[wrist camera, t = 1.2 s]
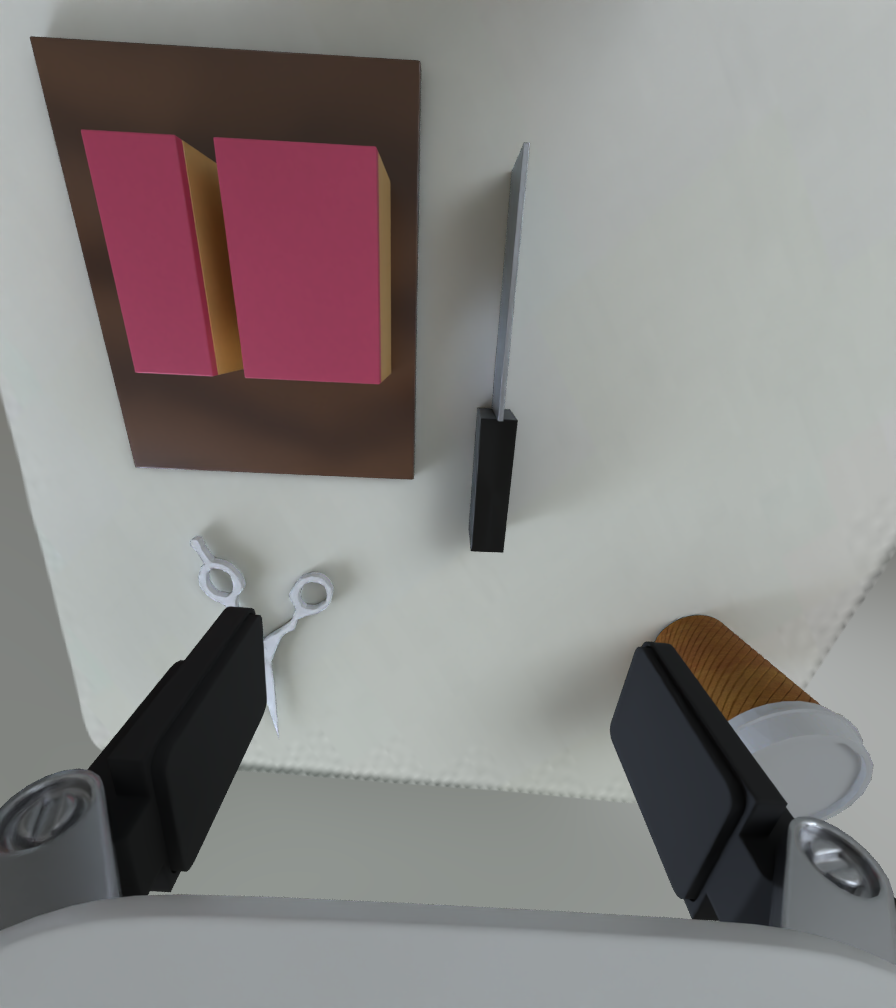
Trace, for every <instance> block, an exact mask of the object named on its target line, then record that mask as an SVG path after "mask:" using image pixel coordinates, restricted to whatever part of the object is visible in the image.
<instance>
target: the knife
mask: <svg viewBox="0 0 896 1008" xmlns="http://www.w3.org/2000/svg"><path fill="white" fill-rule="evenodd" d="M529 148H530V143H529V142H524V143H523V146H522V148H521V150H520V153H519V155H518V157H517V160H516V162H515V164H514V167H513V169H512V175H511V187H510V199H509V210H508V222H507V234H506V245H505V257H504V269H503V281H502V292H501V304H500V316H499V327H498V339H497V351H496V363H495V374H494V386H493V398H492V409H491V408H477V420H476V433H475V447H474V461H473V475H472V489H471V502H470V516H469V538H470V548H471V551H477V552H503V550H504V541H505V532H506V522H507V513H508V504H509V495H510V486H511V477H512V468H513V459H514V450H515V441H516V431H517V422H518V420H517V419H516V417H515V416H514V414H513V413H512V412H511V410H510V409H504V407H505V396H506V386H507V376H508V365H509V355H510V345H511V334H512V324H513V314H514V303H515V293H516V283H517V272H518V262H519V252H520V241H521V231H522V221H523V210H524V200H525V190H526V179H527V169H528V159H529Z"/></svg>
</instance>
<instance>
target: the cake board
mask: <svg viewBox="0 0 896 1008" xmlns="http://www.w3.org/2000/svg"><path fill="white" fill-rule="evenodd" d="M30 40H31V44H32V48H33V52H34V56H35V60H36V65H37V69H38V73H39V77H40V81H41V85H42V89H43V93H44V97H45V101H46V105H47V109H48V113H49V117H50V121H51V126H52V130H53V134H54V138H55V142H56V146H57V150H58V154H59V158H60V162H61V166H62V170H63V174H64V178H65V182H66V187H67V191H68V195H69V199H70V203H71V207H72V211H73V215H74V219H75V223H76V227H77V231H78V235H79V239H80V243H81V248H82V252H83V256H84V260H85V264H86V268H87V272H88V276H89V280H90V284H91V288H92V292H93V296H94V300H95V304H96V309H97V313H98V317H99V321H100V325H101V329H102V333H103V337H104V341H105V345H106V349H107V353H108V357H109V361H110V365H111V370H112V374H113V378H114V382H115V386H116V390H117V394H118V398H119V402H120V406H121V410H122V414H123V418H124V422H125V427H126V431H127V435H128V439H129V443H130V447H131V451H132V455H133V459H134V463H135V467H138V468H161V469H184V470H207V471H230V472H252V473H275V474H298V475H321V476H344V477H367V478H390V479H414V464H415V406H416V348H417V290H418V231H419V173H420V115H421V63H420V61H418V60H402V59H386V58H370V57H354V56H338V55H322V54H306V53H290V52H274V51H257V50H241V49H225V48H209V47H193V46H177V45H161V44H145V43H129V42H113V41H97V40H81V39H64V38H48V37H32V36H31V37H30ZM82 129H85V130H102V131H119V132H136V133H153V134H170V135H175V136H177V137H178V138H180V139H181V140H183V141H184V142H186V143H187V144H189V145H190V146H192V147H193V148H195V149H196V150H198V151H199V152H201V153H202V154H203V155H205V156H206V157H208V158H209V159H211V160H212V161H214V162H215V163H217V162H216V154H215V147H214V139H213V138H214V137H223V138H240V139H257V140H274V141H291V142H309V143H326V144H343V145H360V146H375V147H376V148H377V150H378V152H379V155H380V157H381V160H382V162H383V165H384V167H385V169H386V172H387V174H388V177H389V179H390V197H391V374H390V375H389V376H388V377H387V378H386V379H385V380H383V381H382V382H381V383H380V384H363V383H342V382H321V381H300V380H279V379H258V378H245V375H244V369H242V370H238V371H233V372H229V373H225V374H221V375H216V376H196V375H175V374H154V373H137V372H135V368H134V364H133V360H132V355H131V351H130V346H129V342H128V337H127V333H126V329H125V324H124V320H123V315H122V311H121V306H120V302H119V298H118V293H117V289H116V284H115V280H114V275H113V271H112V267H111V262H110V258H109V253H108V249H107V244H106V240H105V236H104V231H103V227H102V222H101V218H100V213H99V209H98V205H97V200H96V196H95V191H94V187H93V182H92V178H91V174H90V169H89V165H88V160H87V156H86V151H85V147H84V143H83V138H82V134H81V130H82Z"/></svg>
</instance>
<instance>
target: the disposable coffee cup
mask: <svg viewBox="0 0 896 1008" xmlns="http://www.w3.org/2000/svg"><path fill="white" fill-rule="evenodd" d="M655 642H658V643H668V644H671V645H672V646H673V647H674V648H675V650H676V651H677V653H678V654H679V655H680V657H681V658H682V659H683V661H684V662H685V664H686V665H687V666H688V668H689V669H690V670H691V672H692V673H693V674H694V676H695V677H696V679H697V680H698V681H699V683H700V684H701V685H702V687H703V688H704V690H705V691H706V692H707V694H708V695H709V696H710V698H711V699H712V700H713V702H714V703H715V705H716V706H717V707H718V709H719V710H720V711H721V713H722V714H723V716H724V717H725V718H726V720H727V721H728V722H729V724H730V725H731V727H732V728H733V729H734V731H735V732H736V733H737V735H738V736H739V737H740V739H741V740H742V742H743V743H744V744H745V746H746V747H747V748H748V750H749V751H750V753H751V754H752V755H753V757H754V758H755V759H756V761H757V762H758V764H759V765H760V766H761V768H762V769H763V770H764V772H765V773H766V774H767V776H768V777H769V779H770V780H771V781H772V783H773V784H774V785H775V787H776V788H777V790H778V791H779V792H780V794H781V795H782V796H783V798H784V799H785V801H786V802H787V803H788V805H787V806H786V808H787V809H788V810H789V812H790V813H791V815H792V816H793V817H794V819H795V818H797V817H804V816H809V817H813V818H816V819H820V820H823V821H825V820H827V819H829V818H831V817H833V816H835V815H837V814H839V813H840V812H842V811H843V810H845V809H846V808H848V807H849V806H851V805H852V804H853V803H854V802H855V801H856V800H857V799H858V798H859V797H860V796H861V795H862V794H863V793H864V791H865V790H866V788H867V786H868V784H869V783H870V781H871V778H872V772H873V763H872V760H871V757H870V754H869V753H868V752H867V750H866V749H865V747H864V746H863V740H862V738H861V735H860V733H859V731H858V729H857V728H856V727H855V726H854V725H853V724H852V723H851V722H850V721H849V720H848V719H846V718H845V717H843V716H842V715H840V714H838V713H835V712H833V711H831V710H829V709H828V708H826V707H824V706H821V705H820V704H819V703H818V702H817V701H815V700H814V699H813V698H812V697H810V696H809V695H808V694H807V693H806V692H804V691H803V690H802V689H801V688H800V687H799V686H797V685H796V684H795V683H794V682H793V681H791V680H790V679H789V678H787V677H786V676H785V675H784V674H783V673H782V672H780V671H779V670H778V669H777V668H776V667H774V666H773V665H771V663H770V662H769V661H768V660H766V659H764V658H763V657H762V655H760V654H758V653H757V652H756V651H755V650H754V649H752V648H751V647H750V646H749V645H748V644H746V643H745V642H744V641H743V640H742V639H740V638H739V637H738V636H737V635H736V634H734V633H733V632H732V631H731V630H730V629H728V628H727V627H726V626H725V625H724V624H723V623H722V622H720V621H719V620H717V619H715V618H712V617H709V616H704V615H695V616H688V617H685V618H682V619H679V620H677V621H675V622H673V623H671V624H670V625H669V626H667V627H666V628H665V629H664V630H663V631H661V633H660V634H659V635H658V637H657V639H656V641H655Z"/></svg>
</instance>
